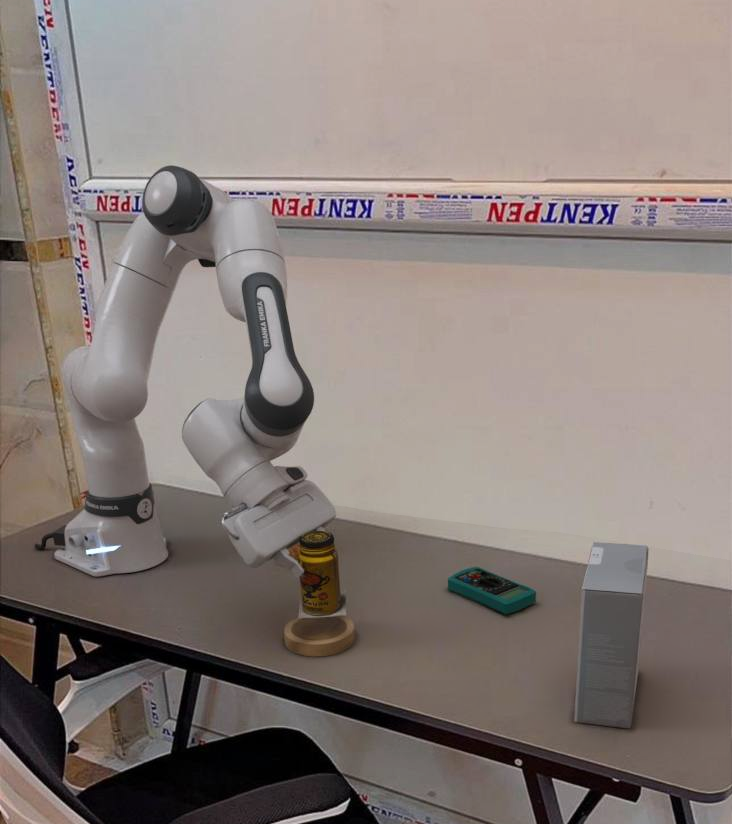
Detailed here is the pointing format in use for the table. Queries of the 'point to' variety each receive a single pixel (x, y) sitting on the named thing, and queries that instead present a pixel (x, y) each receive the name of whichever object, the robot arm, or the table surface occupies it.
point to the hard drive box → (610, 634)
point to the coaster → (319, 635)
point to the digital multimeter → (491, 590)
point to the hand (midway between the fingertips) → (316, 565)
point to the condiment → (320, 577)
